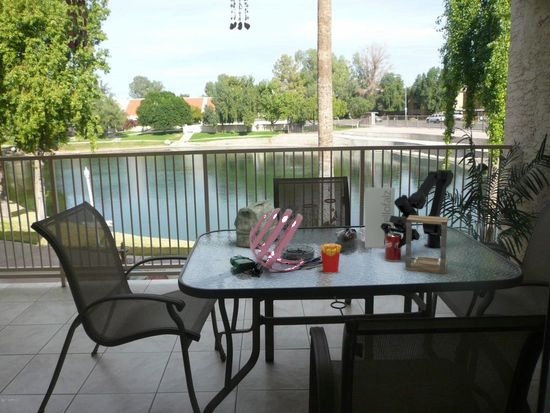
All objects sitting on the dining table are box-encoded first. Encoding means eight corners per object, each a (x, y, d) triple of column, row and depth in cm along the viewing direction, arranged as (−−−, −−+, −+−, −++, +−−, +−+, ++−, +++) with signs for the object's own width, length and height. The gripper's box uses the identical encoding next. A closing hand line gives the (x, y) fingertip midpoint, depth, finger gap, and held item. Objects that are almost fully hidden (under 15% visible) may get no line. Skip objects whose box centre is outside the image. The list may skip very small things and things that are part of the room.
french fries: (321, 272, 194) (321, 245, 192) (321, 269, 198) (320, 243, 196) (341, 272, 193) (341, 245, 191) (340, 269, 197) (340, 243, 195)
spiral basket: (328, 220, 206) (278, 187, 206) (317, 250, 181) (260, 213, 181) (298, 261, 220) (251, 230, 220) (283, 294, 195) (230, 260, 195)
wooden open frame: (410, 259, 209) (411, 212, 205) (447, 262, 202) (449, 214, 198) (405, 269, 194) (406, 219, 190) (444, 273, 188) (447, 221, 184)
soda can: (401, 257, 212) (401, 232, 209) (401, 262, 205) (401, 236, 203) (385, 256, 214) (385, 232, 211) (384, 261, 207) (385, 236, 204)
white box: (364, 247, 230) (365, 189, 225) (365, 244, 236) (365, 187, 230) (393, 248, 227) (394, 189, 221) (393, 245, 232) (394, 187, 227)
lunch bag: (254, 235, 262) (253, 198, 258) (283, 238, 254) (281, 199, 250) (231, 246, 239) (229, 206, 235) (261, 250, 231) (260, 208, 227)
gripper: (383, 206, 215) (367, 232, 210) (416, 211, 200) (400, 240, 195) (393, 219, 221) (378, 246, 216) (426, 226, 206) (411, 254, 202)
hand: (391, 246), depth 207 cm, fingers closed on soda can, 7 cm apart
